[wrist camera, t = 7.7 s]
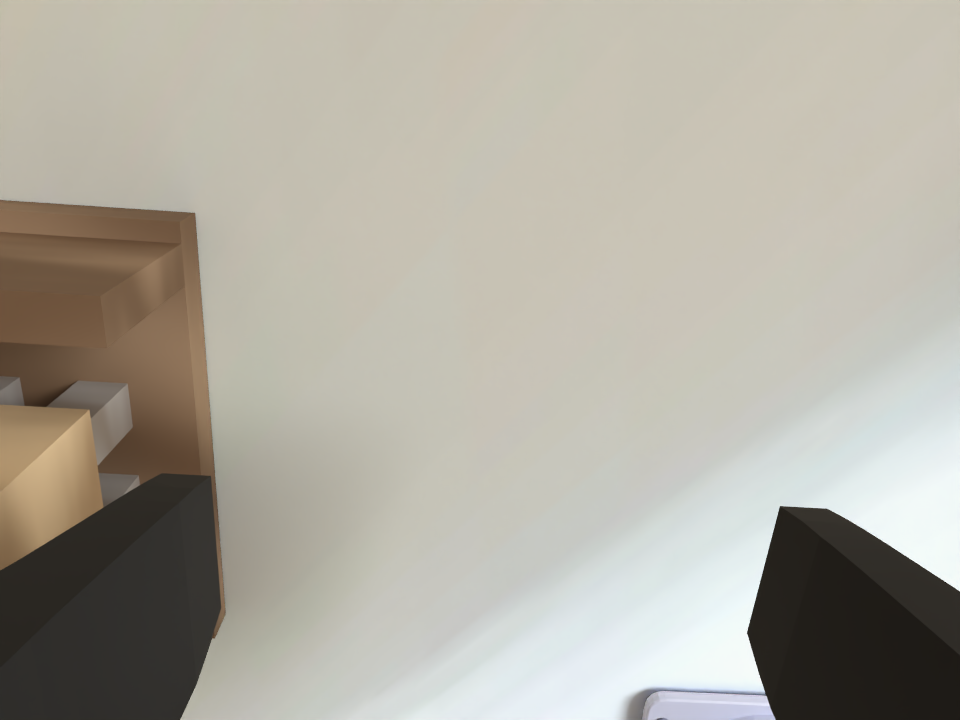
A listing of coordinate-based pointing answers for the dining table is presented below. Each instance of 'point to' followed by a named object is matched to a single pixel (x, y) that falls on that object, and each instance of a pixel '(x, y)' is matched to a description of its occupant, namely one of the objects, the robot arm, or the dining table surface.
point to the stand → (110, 335)
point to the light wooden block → (44, 476)
